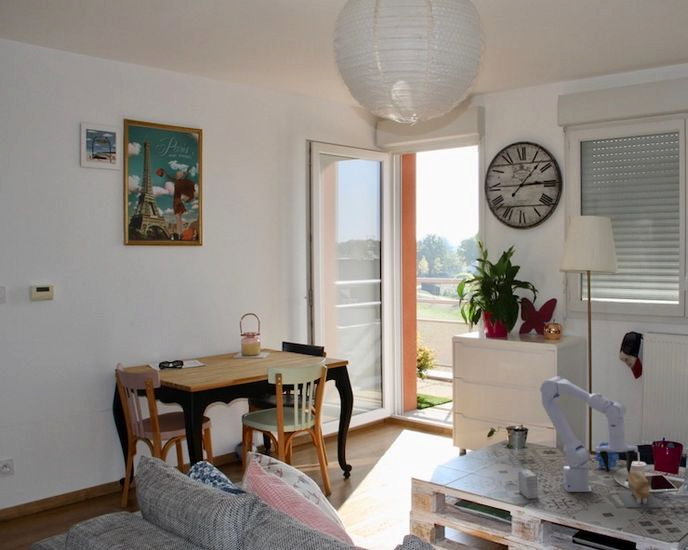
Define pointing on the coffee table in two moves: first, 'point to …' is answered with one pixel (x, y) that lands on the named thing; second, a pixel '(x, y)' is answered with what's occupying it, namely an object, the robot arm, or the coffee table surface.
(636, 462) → the smoothie
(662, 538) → the coffee table surface
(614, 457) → the grapes
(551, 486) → the coffee table surface
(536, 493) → the medicine box
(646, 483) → the oak block
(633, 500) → the peg base
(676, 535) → the coffee table surface
